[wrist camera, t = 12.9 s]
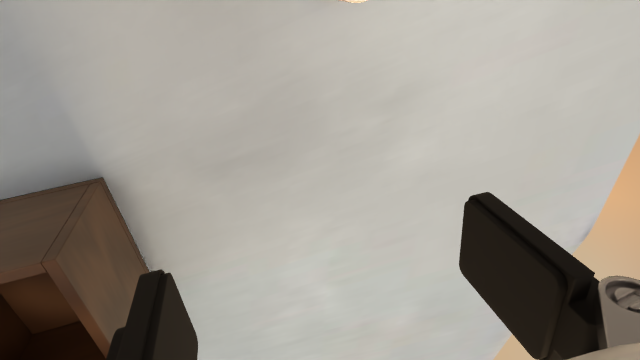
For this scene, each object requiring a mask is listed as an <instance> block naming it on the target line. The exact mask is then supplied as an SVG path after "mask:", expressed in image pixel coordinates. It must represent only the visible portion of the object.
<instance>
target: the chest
mask: <svg viewBox="0 0 640 360" xmlns="http://www.w3.org/2000/svg"><path fill="white" fill-rule="evenodd" d="M144 273H149V271H148V269H147V267H146V264H145V262H144V260H143V258H142V256H141V254H140V252H139V250H138V248H137V246H136V244H135V242H134V240H133V238H132V236H131V234H130V232H129V230H128V228H127V226H126V224H125V222H124V220H123V218H122V216H121V214H120V212H119V210H118V208H117V206H116V204H115V202H114V200H113V197H112V195H111V193H110V191H109V189H108V187H107V185H106V183H105V181H104V179H103V178H98V179H93V180H89V181H85V182H80V183H76V184H71V185H67V186H62V187H58V188H53V189H49V190H44V191H40V192H35V193H31V194H26V195H22V196H17V197H13V198H9V199H4V200H0V360H106V357H107V354H108V351H109V348H110V344H111V341H112V338H113V335H114V333H115V331H116V330H117V329H118V328H122V327H125V326H126V322H127V318H128V315H129V311H130V308H131V304H132V301H133V297H134V293H135V290H136V286H137V283H138V279H139V276H140V275H141V274H144Z"/></svg>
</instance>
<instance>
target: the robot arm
mask: <svg viewBox="0 0 640 360" xmlns="http://www.w3.org/2000/svg"><path fill="white" fill-rule="evenodd" d="M459 267H460V270H461V272H462V274H463V275H464V277H465V278H466V279H467V280H468V281H469V283H470V284H471V285H472V286H473V287H474V288H475V290H476V291H477V292H478V293H479V294H480V296H481V297H482V298H483V299H484V300H485V302H486V303H487V304H488V305H489V306H490V308H491V309H492V310H493V311H494V312H495V314H496V315H497V316H498V317H499V318H500V319H501V321H502V322H503V323H504V324H505V325H506V327H507V328H508V329H509V330H510V331H511V333H512V334H513V335H514V336H515V337H516V339H517V340H518V341H519V342H520V343H521V345H522V346H523V347H524V348H525V349H526V350H527V352H528V353H529V354H530V355H531V356H532V357H533V358H534V359H537V360H538V359H539V360H640V280H637V279H633V278H629V277H624V276H609V277H607V278H604V279H602V280H601V281H600V282H599V281H598V280H597V279H596V278H594V274H595V273H594V272H593V271H591V270H590V269H589V268H588V267H586V266H585V265H584V264H582V263H581V262H580V261H579V260H577V259H576V258H575V257H573V256H572V255H571V254H569V253H568V252H567V251H566V250H564V249H563V248H562V247H560V246H559V245H558V244H556V243H555V242H554V241H552V240H551V239H550V238H549V237H547V236H546V235H545V234H543V233H542V232H541V231H539V230H538V229H537V228H536V227H534V226H533V225H532V224H530V223H529V222H528V221H526V220H525V219H524V218H523V217H521V216H520V215H519V214H517V213H516V212H515V211H513V210H512V209H511V208H510V207H508V206H507V205H506V204H504V203H503V202H502V201H500V200H499V199H498V198H497V197H495V196H494V195H493V194H491V193H489V192H485V193H481V194H477V195H472V196H470V197H469V200H468V201H467V202H466V203H465V206H464V216H463V227H462V238H461V249H460V260H459ZM197 353H198V341H197V335H196V333H195V330H194V328H193V325H192V323H191V320H190V318H189V316H188V313H187V311H186V308H185V306H184V303H183V301H182V299H181V296H180V294H179V291H178V289H177V286H176V284H175V282H174V279H173V277H172V275H171V273H166V274H165V273H164V271H163V270H157V271H153V272H149V273H144V274H141V275H140V276H139V279H138V283H137V286H136V290H135V293H134V297H133V301H132V304H131V308H130V311H129V315H128V318H127V322H126V326H125V327H122V328H118V329H117V330H116V331H115V333H114V335H113V338H112V341H111V344H110V348H109V351H108V354H107V357H106V360H197Z"/></svg>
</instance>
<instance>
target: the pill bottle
mask: <svg viewBox="0 0 640 360" xmlns="http://www.w3.org/2000/svg"><path fill="white" fill-rule="evenodd" d="M339 1H345V2H351V3H360V2H365V1H368V0H339Z"/></svg>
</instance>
